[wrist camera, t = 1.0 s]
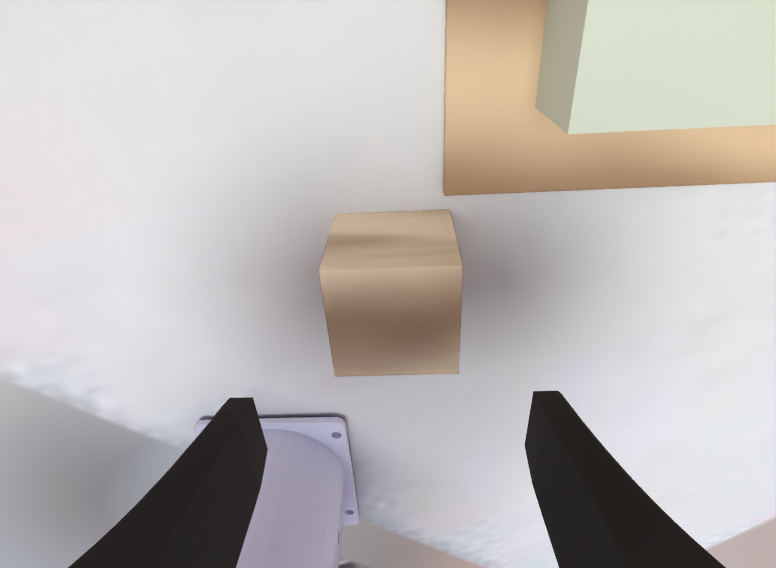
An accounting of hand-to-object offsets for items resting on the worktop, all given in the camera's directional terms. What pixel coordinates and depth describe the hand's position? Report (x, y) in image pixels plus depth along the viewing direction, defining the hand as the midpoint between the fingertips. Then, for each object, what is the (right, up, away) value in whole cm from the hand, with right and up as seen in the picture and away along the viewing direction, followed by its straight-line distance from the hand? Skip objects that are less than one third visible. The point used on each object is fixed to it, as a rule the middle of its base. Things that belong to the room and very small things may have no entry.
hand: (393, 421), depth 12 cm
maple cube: (0, +5, +7) cm, 9 cm away
